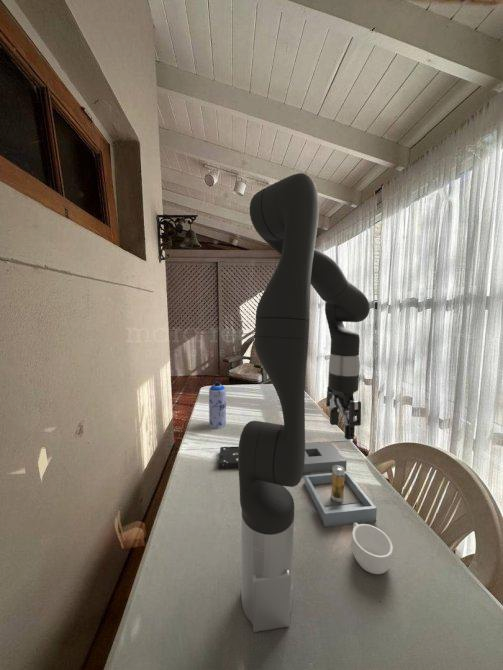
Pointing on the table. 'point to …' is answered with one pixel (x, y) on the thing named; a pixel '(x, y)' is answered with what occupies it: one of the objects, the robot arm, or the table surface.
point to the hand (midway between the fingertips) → (341, 431)
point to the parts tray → (342, 512)
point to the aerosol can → (217, 406)
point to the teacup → (371, 548)
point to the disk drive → (228, 458)
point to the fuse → (337, 483)
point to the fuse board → (322, 457)
